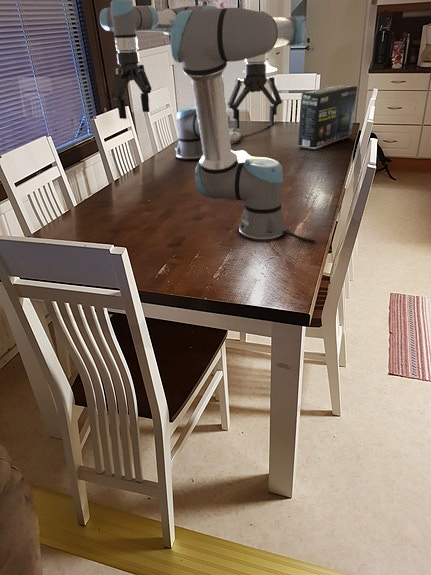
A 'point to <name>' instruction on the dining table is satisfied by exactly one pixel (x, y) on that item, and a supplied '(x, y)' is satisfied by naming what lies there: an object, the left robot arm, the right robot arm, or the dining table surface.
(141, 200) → the dining table surface
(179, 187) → the dining table surface
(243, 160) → the box
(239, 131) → the fossil
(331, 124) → the router box
